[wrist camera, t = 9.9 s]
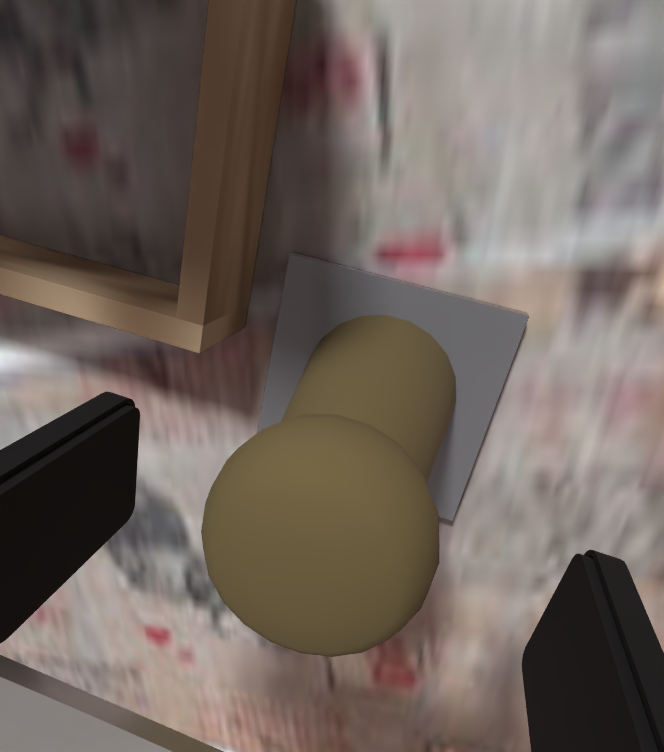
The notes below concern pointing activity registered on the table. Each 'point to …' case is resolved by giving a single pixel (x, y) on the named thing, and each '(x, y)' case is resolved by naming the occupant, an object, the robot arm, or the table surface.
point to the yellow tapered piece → (337, 495)
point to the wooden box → (190, 200)
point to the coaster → (424, 309)
